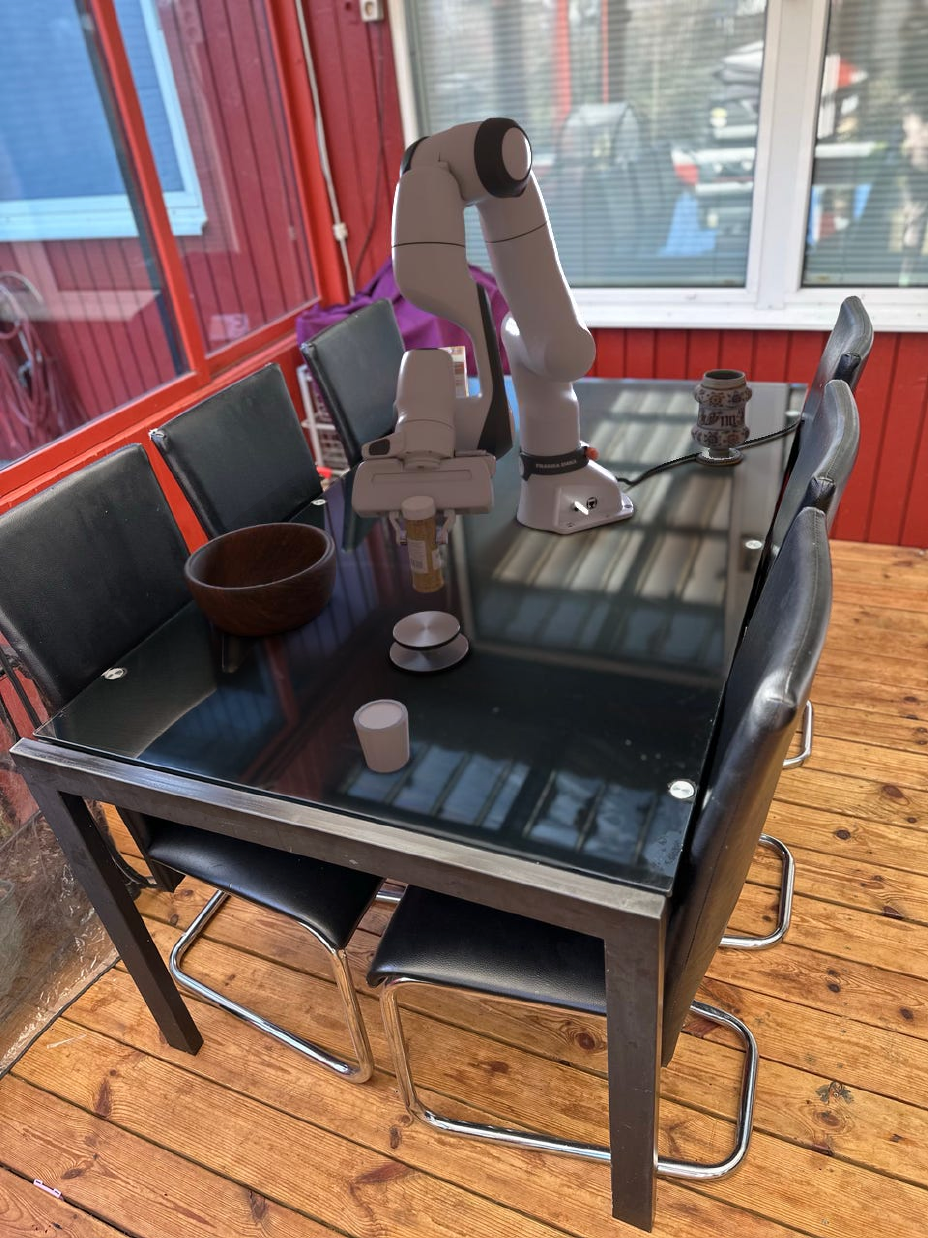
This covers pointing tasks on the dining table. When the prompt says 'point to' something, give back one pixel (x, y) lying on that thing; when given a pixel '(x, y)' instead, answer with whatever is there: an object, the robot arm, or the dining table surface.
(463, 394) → the coffeecake box
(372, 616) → the dining table surface
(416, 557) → the sprinkles bottle
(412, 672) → the stand
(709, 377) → the apothecary jar
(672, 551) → the dining table surface
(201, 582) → the wooden bowl
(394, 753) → the pale pink cup
